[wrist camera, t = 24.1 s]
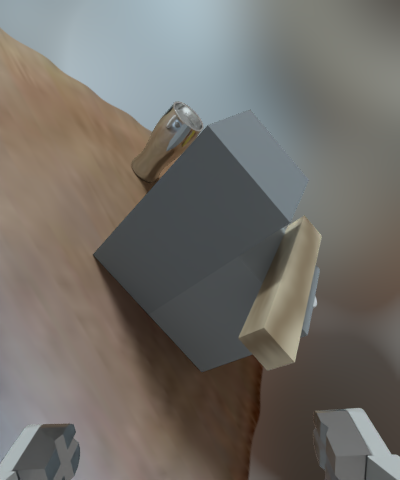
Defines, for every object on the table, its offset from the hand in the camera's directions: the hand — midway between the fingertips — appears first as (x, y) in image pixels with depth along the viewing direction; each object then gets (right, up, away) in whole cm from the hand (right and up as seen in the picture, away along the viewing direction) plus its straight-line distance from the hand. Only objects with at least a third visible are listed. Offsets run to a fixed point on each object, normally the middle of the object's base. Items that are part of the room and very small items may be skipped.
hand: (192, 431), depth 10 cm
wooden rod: (+10, +2, +26) cm, 28 cm away
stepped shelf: (-5, -1, +40) cm, 40 cm away
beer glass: (-11, +21, +51) cm, 56 cm away
